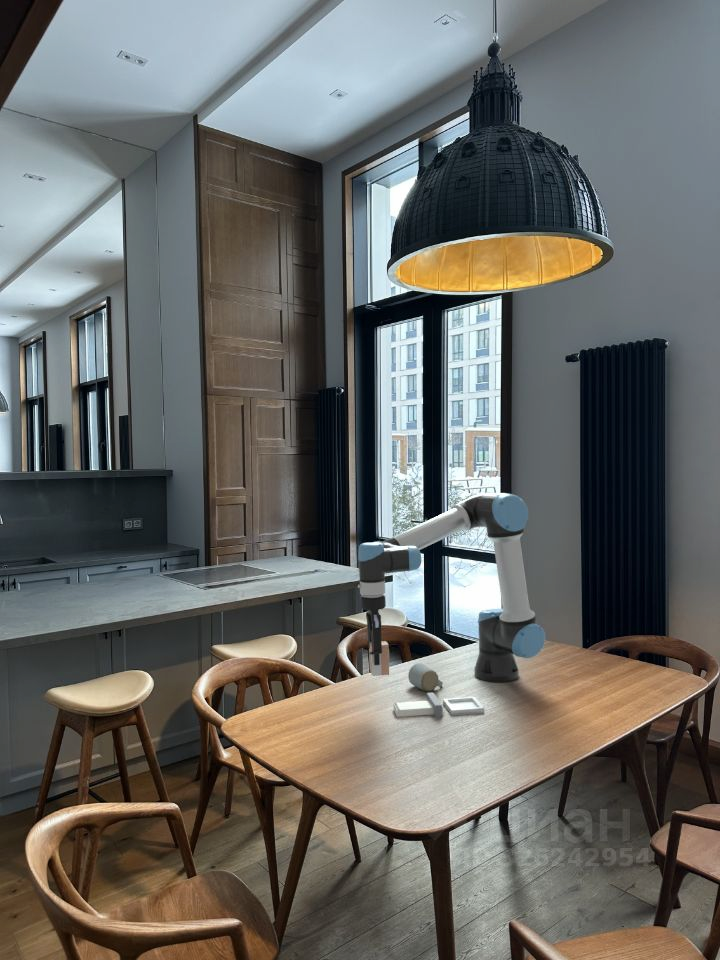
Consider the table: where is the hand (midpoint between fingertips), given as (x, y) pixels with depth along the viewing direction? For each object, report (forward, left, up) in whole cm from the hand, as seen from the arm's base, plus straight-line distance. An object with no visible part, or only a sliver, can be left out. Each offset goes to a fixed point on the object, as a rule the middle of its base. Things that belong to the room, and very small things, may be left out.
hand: (375, 672), depth 205 cm
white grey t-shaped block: (-13, 0, -13) cm, 18 cm away
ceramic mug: (-20, -20, -13) cm, 32 cm away
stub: (-1, 0, 0) cm, 1 cm away
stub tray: (-27, 0, -13) cm, 30 cm away
